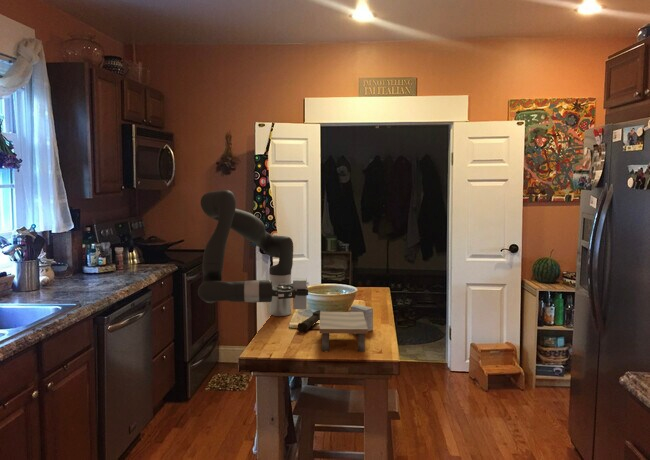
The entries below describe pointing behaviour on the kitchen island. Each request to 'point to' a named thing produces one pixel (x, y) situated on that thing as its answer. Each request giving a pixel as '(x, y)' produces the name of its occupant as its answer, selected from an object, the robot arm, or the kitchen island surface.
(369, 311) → the medicine box
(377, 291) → the kitchen island surface
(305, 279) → the upright block
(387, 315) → the kitchen island surface
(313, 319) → the hand tool
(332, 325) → the peg shelf
